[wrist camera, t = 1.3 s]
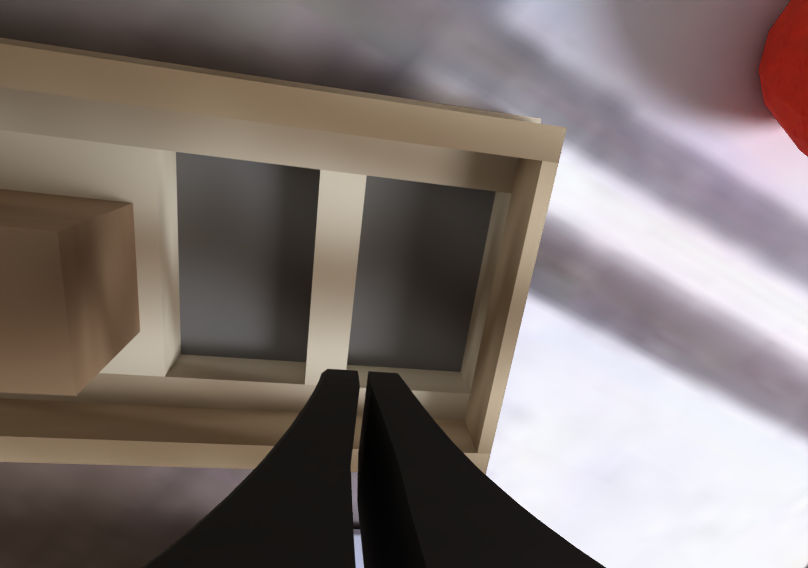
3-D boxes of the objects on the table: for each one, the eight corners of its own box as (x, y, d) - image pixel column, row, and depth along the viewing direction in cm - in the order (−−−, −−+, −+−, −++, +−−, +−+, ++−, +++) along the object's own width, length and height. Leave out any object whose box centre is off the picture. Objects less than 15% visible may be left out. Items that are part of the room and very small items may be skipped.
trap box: (460, 416, 21) (483, 481, 17) (-146, 387, 18) (-281, 460, 14) (520, 119, 17) (569, 118, 13) (-257, 2, 13) (-492, -43, 10)
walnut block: (140, 331, 16) (75, 396, 12) (-4, 321, 15) (-119, 386, 12) (132, 202, 15) (57, 231, 11) (-27, 185, 14) (-166, 210, 10)
